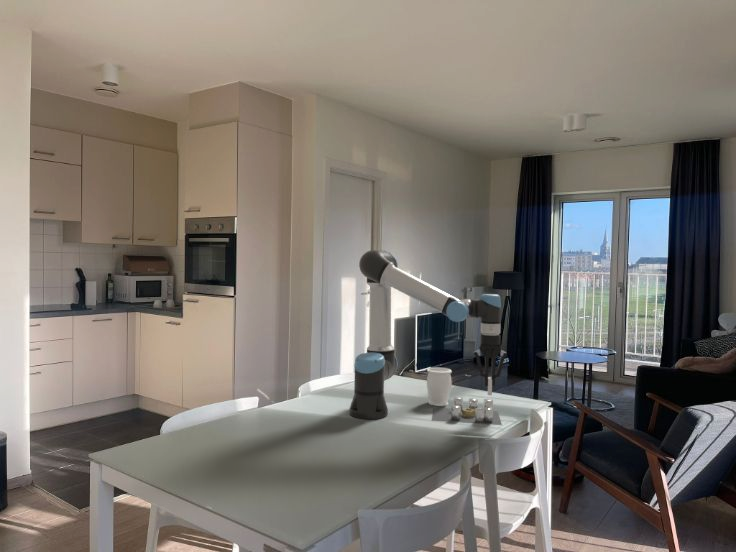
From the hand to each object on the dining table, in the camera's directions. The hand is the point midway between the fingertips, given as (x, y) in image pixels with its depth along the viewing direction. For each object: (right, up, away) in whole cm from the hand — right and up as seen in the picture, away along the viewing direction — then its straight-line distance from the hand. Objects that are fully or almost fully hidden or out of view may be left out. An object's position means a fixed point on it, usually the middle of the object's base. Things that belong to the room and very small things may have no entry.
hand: (489, 394), depth 222 cm
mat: (-9, -9, +2) cm, 13 cm away
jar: (-17, -9, +20) cm, 28 cm away
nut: (-8, -9, +2) cm, 12 cm away
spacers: (-6, -9, +1) cm, 11 cm away
